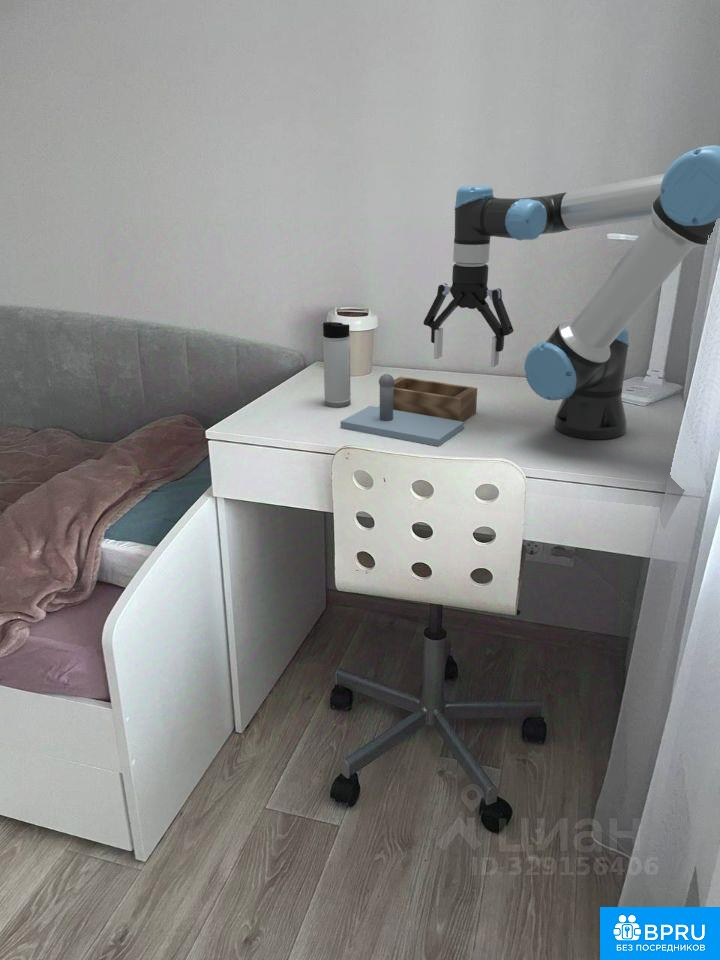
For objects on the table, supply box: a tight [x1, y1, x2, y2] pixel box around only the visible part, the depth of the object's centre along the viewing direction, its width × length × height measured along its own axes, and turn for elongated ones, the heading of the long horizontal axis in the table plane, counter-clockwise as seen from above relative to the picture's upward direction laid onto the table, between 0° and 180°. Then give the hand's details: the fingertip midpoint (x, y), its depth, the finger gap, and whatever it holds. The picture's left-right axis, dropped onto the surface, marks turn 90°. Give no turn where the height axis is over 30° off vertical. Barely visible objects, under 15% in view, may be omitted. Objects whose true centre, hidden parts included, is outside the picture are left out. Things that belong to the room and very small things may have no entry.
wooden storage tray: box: [393, 376, 478, 423], centre depth 185 cm, size 20×10×6 cm, turn 59°
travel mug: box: [322, 321, 352, 408], centre depth 188 cm, size 6×7×20 cm
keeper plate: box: [340, 373, 465, 447], centre depth 173 cm, size 24×13×12 cm, turn 59°
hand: (465, 361), depth 177 cm, fingers open, 13 cm apart
